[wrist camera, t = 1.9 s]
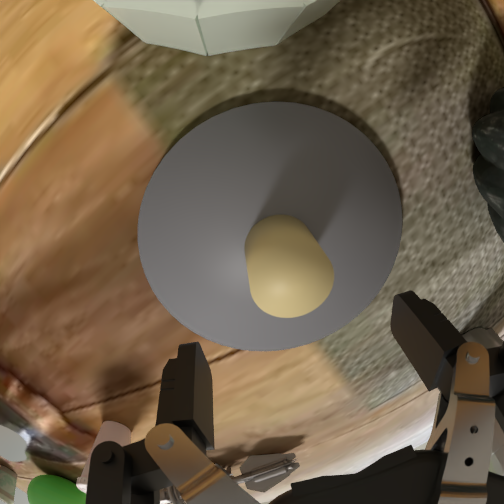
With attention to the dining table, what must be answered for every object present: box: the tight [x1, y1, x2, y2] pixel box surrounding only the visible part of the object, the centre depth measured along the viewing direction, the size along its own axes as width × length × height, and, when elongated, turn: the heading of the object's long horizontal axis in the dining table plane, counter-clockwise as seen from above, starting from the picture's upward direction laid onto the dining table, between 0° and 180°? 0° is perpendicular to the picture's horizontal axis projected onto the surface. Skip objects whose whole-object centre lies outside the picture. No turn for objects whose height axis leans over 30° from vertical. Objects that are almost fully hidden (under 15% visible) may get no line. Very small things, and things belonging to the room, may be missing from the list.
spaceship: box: [160, 453, 300, 504], centre depth 31 cm, size 8×35×8 cm
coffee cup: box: [0, 465, 17, 504], centre depth 39 cm, size 8×9×12 cm
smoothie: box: [76, 421, 131, 493], centre depth 22 cm, size 6×6×14 cm
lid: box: [138, 102, 402, 351], centre depth 18 cm, size 18×18×6 cm
